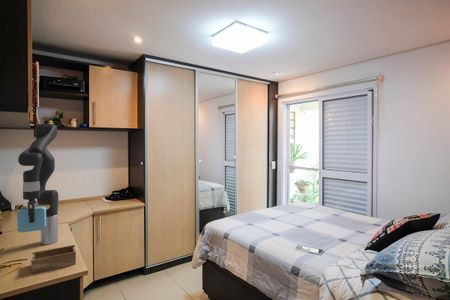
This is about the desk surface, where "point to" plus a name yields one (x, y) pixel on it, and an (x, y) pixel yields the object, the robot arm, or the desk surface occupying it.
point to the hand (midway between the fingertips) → (32, 221)
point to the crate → (53, 258)
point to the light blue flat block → (38, 222)
